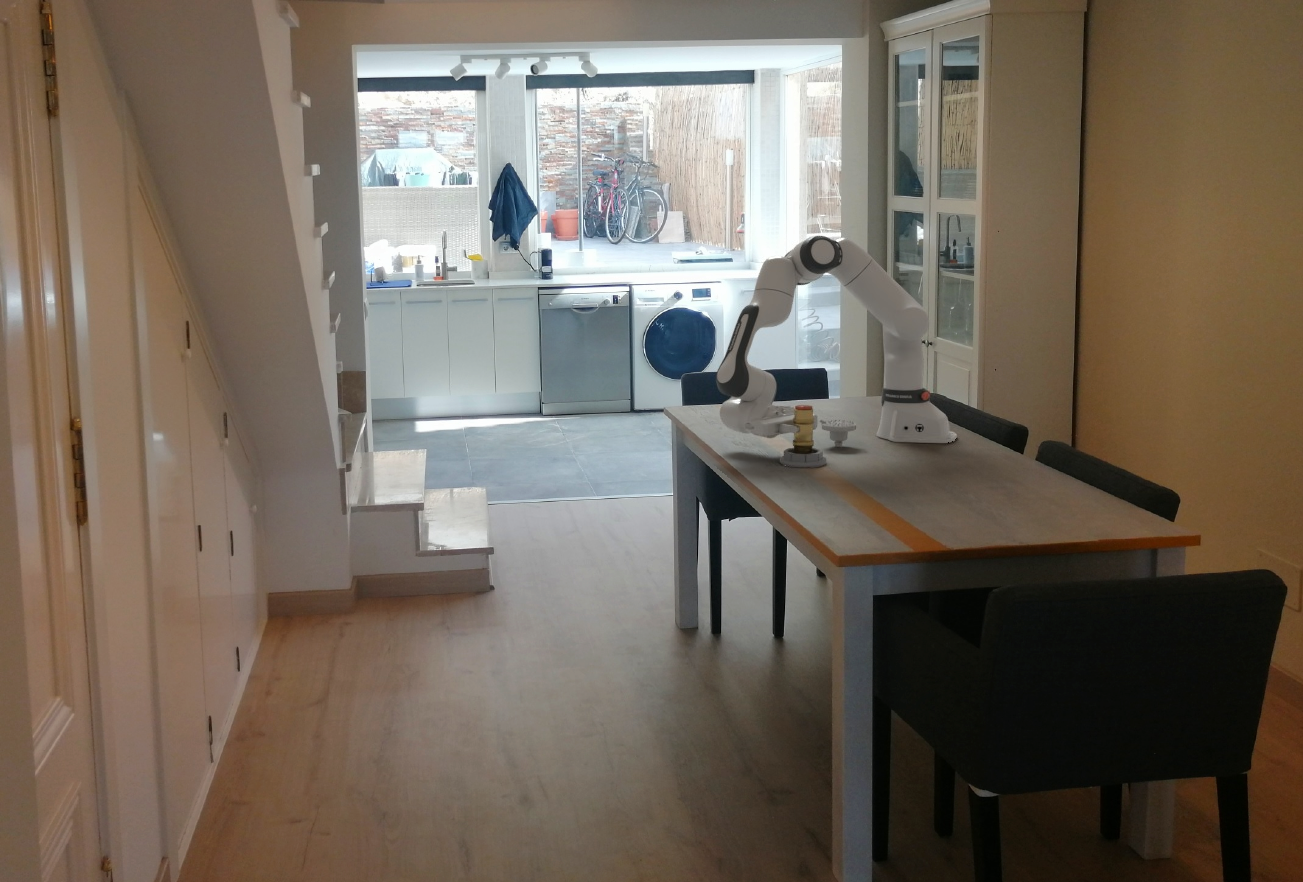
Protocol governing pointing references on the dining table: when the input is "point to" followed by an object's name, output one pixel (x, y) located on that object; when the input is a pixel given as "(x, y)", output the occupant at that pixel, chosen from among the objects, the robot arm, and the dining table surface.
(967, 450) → the dining table surface
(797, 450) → the cylinder
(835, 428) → the showerhead
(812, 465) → the flange fitting
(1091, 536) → the dining table surface
